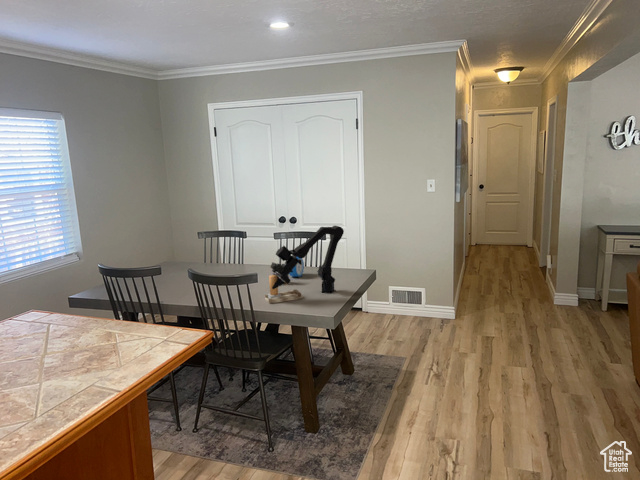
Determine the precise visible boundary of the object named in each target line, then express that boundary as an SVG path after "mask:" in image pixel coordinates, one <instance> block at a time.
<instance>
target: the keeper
mask: <svg viewBox="0 0 640 480" xmlns="http://www.w3.org/2000/svg"><path fill="white" fill-rule="evenodd" d="M268 280H269V282H268V283H269V293H267V294H268V298H276V297H281V294H279V293H280V292H279V287H277V288H275V289H272V287H273V285H274V284H275V282H276V280H277V275H273V274H272V275H271V274H270V275H269V276H268Z"/></svg>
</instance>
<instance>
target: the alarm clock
mask: <svg viewBox="0 0 640 480" xmlns="http://www.w3.org/2000/svg"><path fill="white" fill-rule="evenodd" d="M291 256H292V257H296V258H297V259H301V263H302V264H301V265H300V264H299V263H298V264H297V265H296V266H295V267H294V269H293V270H292V271H293V272H290V273H289V275H288V276H290V277H295V278H300V277H302V275H303V273H304V270H305V262H304V258H298V257H297V256H293V255H292V254H291Z"/></svg>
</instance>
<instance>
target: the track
mask: <svg viewBox="0 0 640 480" xmlns="http://www.w3.org/2000/svg"><path fill="white" fill-rule="evenodd" d="M278 293H279V294H281V297H276V298H268V294H269V293H267V294H264V299H265V301H266V302H267V303H268V304H275V303H281V302H287V301H288V302H289V301H295V300H300V299H303V298H304V296H303V295H302V293H301V291H299V290H297V289H292V290H288V291H282V292H281V291H280V292H278Z"/></svg>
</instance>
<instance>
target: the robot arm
mask: <svg viewBox="0 0 640 480" xmlns="http://www.w3.org/2000/svg"><path fill="white" fill-rule="evenodd" d="M344 231H345V230H344V229H343V227H342V226H338V225H332V226H320V227H319V229H317V230H316V232H314V233H313V234H312V235H311V236H310V237H309V238H308V239H307V240H306V241H305V242H303V243H302V244H299V245H298V246H296V247H294V249H290V250H289V249H288V248H287V247H286V246H285V245H282V247H280V248H278V249H277V250H276V252H275V256H277V257H278V258H279V259H280V260H281V261H283V262H284V263H275V262H271V265H270V268H271V272H272V275H277V280H276V282H275V284H274V285H273V287H272V289H275V288H277V287H278V288H279V287H281V286H284V285H283V284H286V283H287V285H290V284H289V283H291V279H290V278H288V277H289V276H290V275H289V273H290V272H293V271H292V270H293V269H294V267H295V266H296V265H297V264H298V263H299V264H300V265H301V264H302V263H301V259H297V258H296V257H292V255H293V256H297V257H298V258H302V259H304V258H306V256H307V255H308V254H309V252H310V250H311V248H312V247H313V246H314V245H316V244H317V242H319V241H320V240H321V239H322V238H323V237H324V236H325V235H329V240H330V241H329V244H328V246H327V249H326V250H327V251H326V253H325V254H326V255H325V256H324V257H325V258H324V260H323V263H322V265H319V266H318V269H317V271H316V272H317V275H318V276H317V277H318V278H320V280H321V281H322V282H321V293H323V294H332V293H334V292H336V289H335V281H336V278H335V277H333V276H332V273H333V271H332V269H333V268H332V264H333V261H334V258H335V254H336V250H337V246H338V243H339V241H340V240H341V239H342V237H343V235H344ZM285 282H286V283H285Z"/></svg>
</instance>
